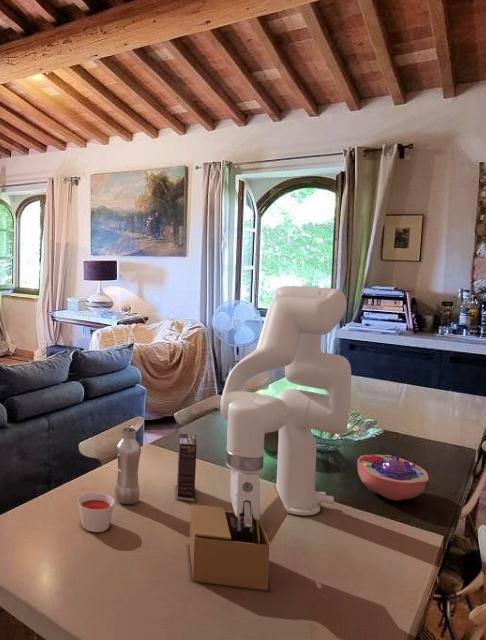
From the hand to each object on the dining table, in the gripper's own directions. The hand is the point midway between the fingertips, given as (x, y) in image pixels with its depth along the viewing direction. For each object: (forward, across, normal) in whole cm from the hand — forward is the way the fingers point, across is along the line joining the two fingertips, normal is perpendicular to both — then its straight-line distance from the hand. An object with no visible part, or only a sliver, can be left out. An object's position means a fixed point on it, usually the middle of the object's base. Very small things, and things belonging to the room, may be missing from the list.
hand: (241, 540), depth 113 cm
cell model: (+7, +45, -47) cm, 66 cm away
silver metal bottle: (+7, +25, +26) cm, 37 cm away
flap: (-7, 0, -6) cm, 9 cm away
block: (0, 0, 0) cm, 0 cm away
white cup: (+6, +11, +33) cm, 35 cm away
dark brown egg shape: (+7, +72, -20) cm, 75 cm away
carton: (+6, 0, +3) cm, 7 cm away
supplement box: (+7, +33, +10) cm, 35 cm away
